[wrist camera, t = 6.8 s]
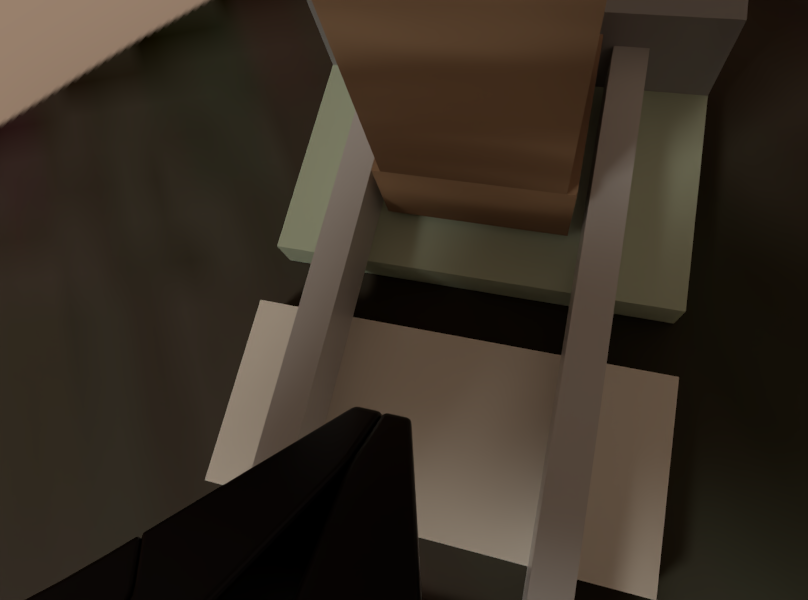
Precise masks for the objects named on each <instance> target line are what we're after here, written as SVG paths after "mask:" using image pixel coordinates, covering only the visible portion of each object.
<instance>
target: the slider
mask: <svg viewBox="0 0 808 600" xmlns="http://www.w3.org/2000/svg"><path fill="white" fill-rule="evenodd" d="M312 2H313V5H314V7H315V10H316V12H317V15H318V17H319V20H320V23H321V25H322V28H323V30H324V33H325V35H326V38H327V40H328V43H329V45H330V48H331V50H332V53H333V55H334V58H335V60H336V63H337V65H338V68H339V70H340V73H341V75H342V78H343V80H344V83H345V85H346V88H347V90H348V93H349V95H350V98H351V100H352V103H353V105H354V108H355V110H356V113H357V115H358V118H359V120H360V123H361V125H362V128H363V130H364V133H365V135H366V138H367V140H368V143H369V145H370V148H371V150H372V153H373V155H374V162H373V166H372V169H371V171H372V173H373V176H374V178H375V180H376V183H377V185H378V187H379V190H380V192H381V195H382V197H383V199H384V202H385V204H386V206H387V209H388V211H391V212H398V213H406V214H413V215H420V216H427V217H434V218H442V219H449V220H456V221H463V222H470V223H478V224H485V225H492V226H499V227H506V228H513V229H521V230H528V231H535V232H542V233H549V234H557V235H564V236H568V231H569V227H570V223H571V219H572V215H573V211H574V206H575V202H576V198H577V193H578V187H579V181H580V175H581V169H582V163H583V156H584V150H585V144H586V138H587V132H588V126H589V120H590V114H591V108H592V102H593V95H594V89H595V83H596V77H597V71H598V65H599V59H600V53H601V47H602V40H603V34H600V31H601V26H602V21H603V16H604V12H605V7H606V2H607V0H312Z"/></svg>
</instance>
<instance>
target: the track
mask: <svg viewBox="0 0 808 600" xmlns="http://www.w3.org/2000/svg"><path fill="white" fill-rule="evenodd" d="M307 2H308V5H309V7H310V10H311V12H312V14H313V17H314V19H315V22H316V24H317V27H318V29H319V32H320V34H321V36H322V39H323V41H324V44H325V46H326V49H327V51H328V54H329V56H330V58H331V61H332V63H333V67H332V70H331V73H330V77H329V80H328V83H327V86H326V90H325V93H324V96H323V99H322V103H321V106H320V109H319V112H318V116H317V119H316V122H315V125H314V128H313V132H312V135H311V138H310V141H309V145H308V148H307V151H306V154H305V158H304V161H303V164H302V167H301V171H300V174H299V177H298V180H297V183H296V187H295V190H294V193H293V196H292V200H291V203H290V206H289V209H288V213H287V216H286V219H285V222H284V226H283V229H282V232H281V235H280V238H279V242H278V245H277V246H278V247H279V249H280V250H281V251H282V252H283V253H284V254H285V255H286V256H287V257H288V258H289V259H290V260H292V261H299V262H305V263H311V265H310V269H309V272H308V276H307V279H306V282H305V286H304V289H303V293H302V296H301V300H300V303H299V307H296V306H291V305H286V304H280V303H275V302H269V301H264V300H260V303H259V306H258V310H257V313H256V316H255V319H254V323H253V326H252V329H251V332H250V336H249V339H248V342H247V345H246V349H245V352H244V355H243V358H242V361H241V365H240V368H239V371H238V374H237V378H236V381H235V384H234V387H233V391H232V394H231V397H230V400H229V404H228V407H227V410H226V413H225V416H224V420H223V423H222V426H221V429H220V433H219V436H218V439H217V442H216V446H215V449H214V452H213V455H212V459H211V462H210V465H209V468H208V471H207V475H206V478H205V480H206V481H210V482H214V483H218V484H221V485H224V484H226V483H227V482H229V481H231V480H232V479H234V478H236V477H237V476H239V475H241V474H242V473H244V472H246V471H247V470H249V469H251V468H252V467H254V466H256V465H257V464H259V463H261V462H262V461H264V460H266V459H267V458H269V457H271V456H272V455H274V454H276V453H277V452H279V451H281V450H282V449H284V448H286V447H287V446H289V445H291V444H292V443H294V442H296V441H297V440H299V439H301V438H302V437H304V436H306V435H307V434H309V433H311V432H312V431H314V430H316V429H317V428H319V427H321V426H322V425H324V424H326V423H327V422H329V421H331V420H332V419H334V418H336V417H337V416H339V415H341V414H342V413H344V412H346V411H347V410H349V409H351V408H353V407H362V408H367V409H371V410H376V411H379V412H380V413H381V414H382V415H383V414H385V413H389V414H394V415H399V416H403V417H407V418H409V419H410V420H411V424H412V439H413V456H414V473H415V490H416V507H417V524H418V537H420V538H424V539H427V540H431V541H435V542H439V543H442V544H446V545H450V546H454V547H457V548H461V549H465V550H469V551H472V552H476V553H480V554H484V555H487V556H491V557H495V558H499V559H502V560H506V561H510V562H514V563H517V564H521V565H525V566H528V567H527V573H526V579H525V586H524V592H523V598H522V600H574V598H575V590H576V583H577V580H581V581H585V582H588V583H592V584H596V585H600V586H603V587H607V588H611V589H615V590H618V591H622V592H626V593H630V594H633V595H637V596H641V597H645V598H648V599H652V600H656V598H657V589H658V579H659V569H660V559H661V549H662V540H663V530H664V520H665V510H666V501H667V491H668V481H669V471H670V461H671V452H672V442H673V432H674V422H675V412H676V403H677V393H678V383H679V377H676V376H671V375H665V374H660V373H655V372H649V371H644V370H638V369H633V368H627V367H622V366H617V365H611V364H607V357H608V350H609V342H610V335H611V328H612V320H613V314H619V315H625V316H631V317H637V318H643V319H649V320H655V321H661V322H667V323H673V324H674V323H675V322H676V321H677V320H678V319H679V318H680V317H681V316H682V315H683V314H684V313H685V312H686V305H687V295H688V285H689V276H690V266H691V256H692V246H693V236H694V227H695V217H696V207H697V197H698V188H699V178H700V168H701V158H702V148H703V139H704V129H705V119H706V109H707V100H708V95H709V93H710V91H711V89H712V87H713V85H714V83H715V81H716V79H717V77H718V75H719V73H720V71H721V69H722V67H723V65H724V63H725V61H726V59H727V57H728V55H729V54H730V52H731V50H732V48H733V46H734V44H735V42H736V40H737V38H738V36H739V34H740V32H741V30H742V28H743V26H744V24H745V22H746V20H747V11H748V0H607V2H606V7H605V12H604V16H603V21H602V26H601V31H600V34H603V40H602V47H601V53H600V59H599V65H598V71H597V77H596V83H595V89H594V95H593V102H592V108H591V114H590V120H589V126H588V132H587V138H586V144H585V150H584V156H583V163H582V169H581V175H580V181H579V187H578V193H577V198H576V202H575V206H574V211H573V215H572V219H571V223H570V227H569V231H568V236H564V235H557V234H549V233H542V232H535V231H528V230H521V229H513V228H506V227H499V226H492V225H485V224H478V223H470V222H463V221H456V220H449V219H442V218H434V217H427V216H420V215H413V214H406V213H398V212H391V211H388V209H387V206H386V204H385V202H384V199H383V197H382V195H381V192H380V190H379V187H378V185H377V183H376V180H375V178H374V176H373V173H372V171H371V169H372V166H373V162H374V155H373V153H372V150H371V148H370V145H369V143H368V140H367V138H366V135H365V133H364V130H363V128H362V125H361V123H360V120H359V118H358V115H357V113H356V110H355V108H354V105H353V103H352V100H351V98H350V95H349V93H348V90H347V88H346V85H345V83H344V80H343V78H342V75H341V73H340V70H339V68H338V65H337V63H336V60H335V58H334V55H333V53H332V50H331V48H330V45H329V43H328V40H327V38H326V35H325V33H324V30H323V28H322V25H321V23H320V20H319V17H318V15H317V12H316V10H315V7H314V5H313V2H312V0H307ZM364 273H371V274H377V275H383V276H389V277H395V278H401V279H407V280H413V281H419V282H425V283H432V284H438V285H444V286H450V287H456V288H462V289H468V290H474V291H480V292H486V293H492V294H498V295H504V296H510V297H516V298H522V299H528V300H534V301H540V302H546V303H552V304H558V305H565V306H569V309H568V315H567V322H566V328H565V334H564V341H563V347H562V353H561V355H557V354H551V353H546V352H541V351H535V350H530V349H524V348H519V347H513V346H508V345H503V344H497V343H492V342H486V341H481V340H476V339H470V338H465V337H459V336H454V335H448V334H443V333H438V332H432V331H427V330H421V329H416V328H410V327H405V326H400V325H394V324H389V323H383V322H378V321H372V320H367V319H362V318H356V317H353V315H354V311H355V307H356V303H357V299H358V296H359V292H360V288H361V284H362V280H363V276H364Z"/></svg>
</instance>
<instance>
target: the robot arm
mask: <svg viewBox="0 0 808 600" xmlns="http://www.w3.org/2000/svg"><path fill="white" fill-rule="evenodd" d="M26 600H422V592H421V575H420V558H419V541H418V524H417V507H416V490H415V473H414V456H413V439H412V424H411V420H410V419H409V418H407V417H403V416H399V415H394V414H389V413H385V414H383V415H382V414H381V413H380V412H379V411H376V410H371V409H367V408H362V407H353V408H351V409H349V410H347V411H346V412H344V413H342V414H341V415H339V416H337V417H336V418H334V419H332V420H331V421H329V422H327V423H326V424H324V425H322V426H321V427H319V428H317V429H316V430H314V431H312V432H311V433H309V434H307V435H306V436H304V437H302V438H301V439H299V440H297V441H296V442H294V443H292V444H291V445H289V446H287V447H286V448H284V449H282V450H281V451H279V452H277V453H276V454H274V455H272V456H271V457H269V458H267V459H266V460H264V461H262V462H261V463H259V464H257V465H256V466H254V467H252V468H251V469H249V470H247V471H246V472H244V473H242V474H241V475H239V476H237V477H236V478H234V479H232V480H231V481H229V482H227V483H226V484H224V485H222V486H221V487H219V488H217V489H216V490H214V491H212V492H211V493H209V494H207V495H206V496H204V497H202V498H201V499H199V500H197V501H196V502H194V503H192V504H191V505H189V506H187V507H186V508H184V509H182V510H181V511H179V512H177V513H176V514H174V515H172V516H171V517H169V518H167V519H166V520H164V521H162V522H161V523H159V524H157V525H156V526H154V527H152V528H151V529H149V530H147V531H146V532H144V533H143V535H142V539H141V538H140V537H135V538H134V539H132V540H130V541H129V542H127V543H125V544H124V545H122V546H120V547H119V548H117V549H115V550H114V551H112V552H110V553H109V554H107V555H105V556H103V557H102V558H100V559H98V560H96V561H95V562H93V563H91V564H89V565H88V566H86V567H84V568H82V569H81V570H79V571H77V572H76V573H74V574H72V575H70V576H69V577H67V578H65V579H63V580H62V581H60V582H58V583H56V584H54V585H52V586H50V587H48V588H46V589H45V590H43V591H41V592H39V593H37V594H35V595H33V596H31V597H29V598H27V599H26Z"/></svg>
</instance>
